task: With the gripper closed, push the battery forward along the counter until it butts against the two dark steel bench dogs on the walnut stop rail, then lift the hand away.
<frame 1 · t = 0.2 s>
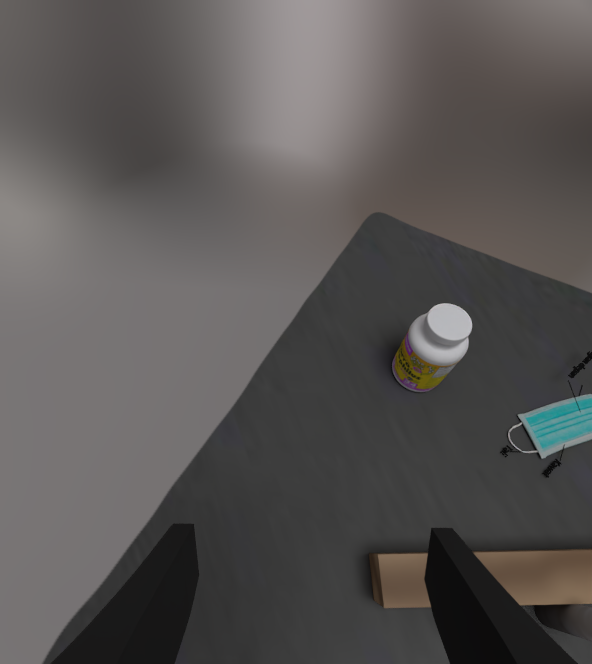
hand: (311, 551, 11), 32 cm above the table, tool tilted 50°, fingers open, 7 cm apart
surgical mask: (567, 428, 45), on the table
supplement bottle: (415, 371, 49), on the table
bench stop: (496, 573, 36), on the table
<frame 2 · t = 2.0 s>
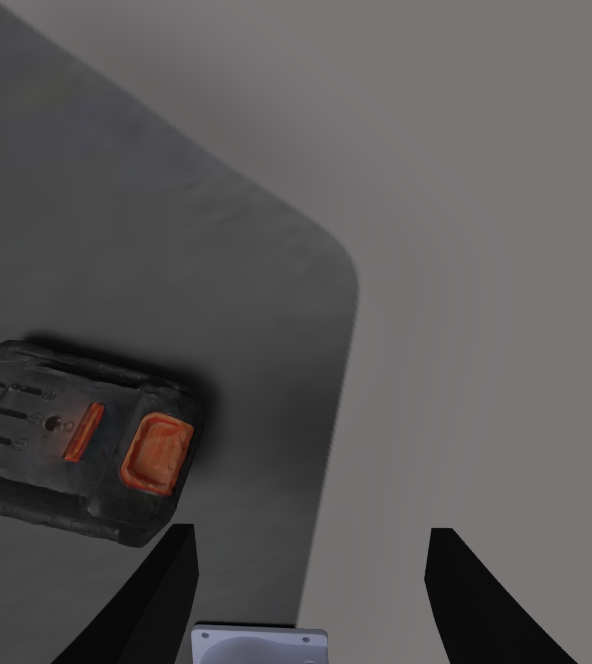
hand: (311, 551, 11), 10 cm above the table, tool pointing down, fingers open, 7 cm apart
battery: (112, 397, 20), on the table
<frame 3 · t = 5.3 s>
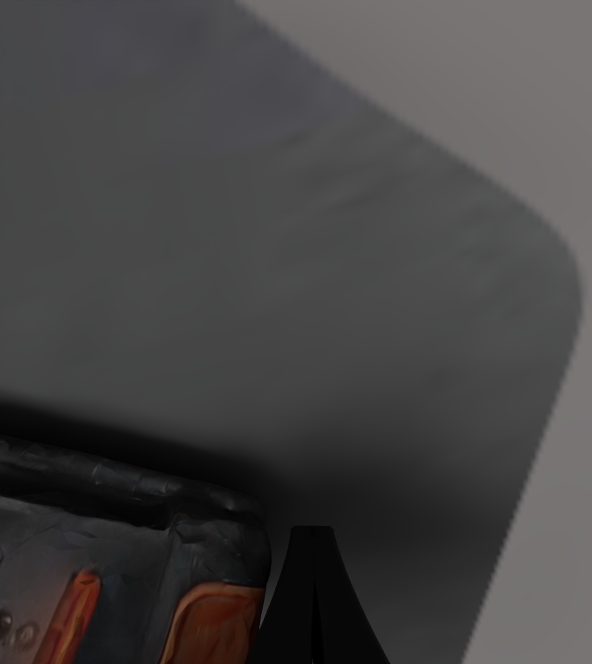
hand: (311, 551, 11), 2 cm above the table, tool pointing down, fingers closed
battery: (116, 494, 13), on the table, touching gripper
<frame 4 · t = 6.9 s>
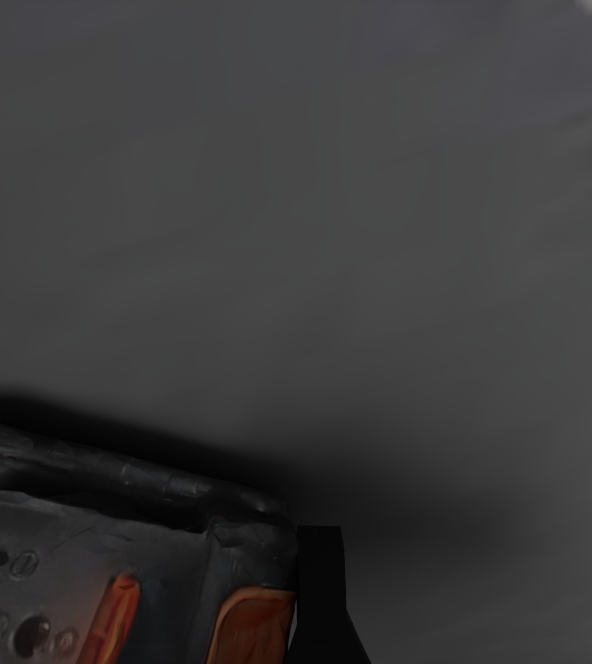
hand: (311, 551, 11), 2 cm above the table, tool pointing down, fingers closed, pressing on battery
battery: (133, 491, 13), on the table, touching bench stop, gripper
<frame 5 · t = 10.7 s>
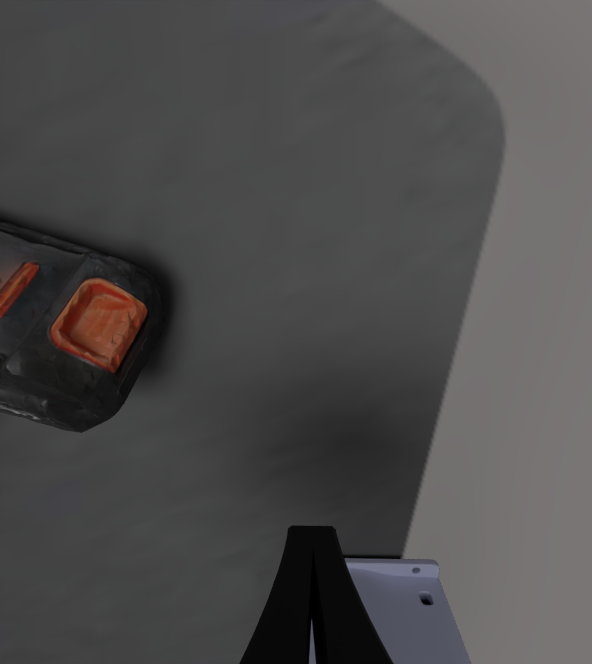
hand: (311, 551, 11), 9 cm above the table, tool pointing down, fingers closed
battery: (65, 292, 18), on the table
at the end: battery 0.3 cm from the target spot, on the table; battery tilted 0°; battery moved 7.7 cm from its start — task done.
